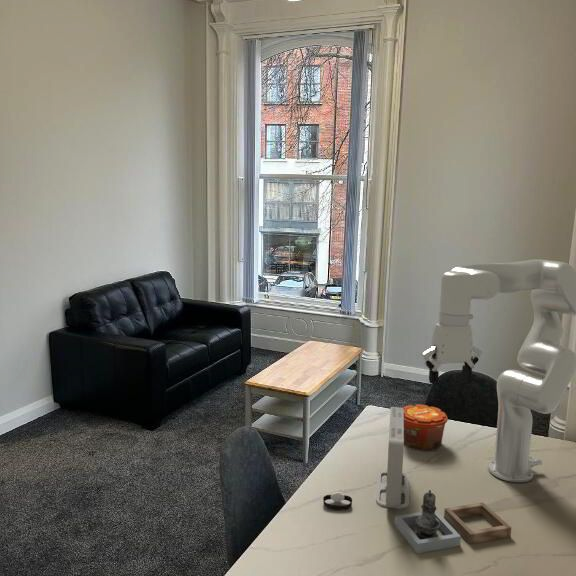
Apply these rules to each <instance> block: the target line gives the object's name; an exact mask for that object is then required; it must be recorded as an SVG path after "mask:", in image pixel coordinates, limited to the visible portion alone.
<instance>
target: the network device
mask: <svg viewBox="0 0 576 576" xmlns="http://www.w3.org/2000/svg"><path fill="white" fill-rule="evenodd" d="M389 412H390V413H389V414H390V415H389V431H388V432H389V433H388V446H387V447H388V452H387V468H386V469H387V470H382V471H379V472H378V473H377V480H376V491H375V503H376V504H377V505H379V506H381V507H384V508H390V509H398V510H399V509H401V510H402V509H406V508H407V507H409V504H410V503H409V502H410V500H409V497H410V495H409V476H408V475H407V474H405V472H403V468H404V466H403V464H404V448H405V447H404V446H405V444H404V416H403V407H396V406H390V409H389ZM383 475H386V483H383V482H382V476H383ZM403 479H404V485H402V484H403ZM381 492H386V493H385V494H386V495H385V501H381V500H380V498H381V497H380V496H381V495H380V494H381ZM402 494H403V495H404V503H402Z"/></svg>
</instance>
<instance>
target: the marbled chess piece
mask: <svg viewBox="0 0 576 576" xmlns="http://www.w3.org/2000/svg"><path fill="white" fill-rule="evenodd" d="M436 499H437V497H436V495H435V493H433V492H432V490H431V489H429V490H428V491H427V492H425V493H423V498H422V504H421V506H420V507H421V512H422V515H420V516H418V517H417V518H416V523H417V525H416V527H417V530H416V532H415V535H416V536H417V537H418V538H419V540H422V539H428V538H433V537H439V533H437V532H438V531H439V530H440V529H439V527H440V521H439V520H438V519H437V518H435V511H437V506H436Z"/></svg>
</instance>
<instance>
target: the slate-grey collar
mask: <svg viewBox="0 0 576 576" xmlns="http://www.w3.org/2000/svg"><path fill="white" fill-rule="evenodd" d="M420 515H422V511H420V512H414V513H412V512H411V513H407V514H402V515H401V514H399V515H395V516H394V526H395V527H396V529H397V530H398V531H399V533H400V534H401V535H402V536H403V538H404V539H405V540H406V542H408V544H409V545H410V546H411V549H413V551H414V552H415V553H416V554H422V553H429V552H433V551H439V550H443V549H444V550H445V549H451V548H455V547H460V546H461V543H462V542H461V541H462V539H461V538H462V535H461V534H460V533H459V532H458V531H457V530H456V529H455V528H454V527H453V526H452V525H451V524H450V523H449V522H448V521H447V520H446V519H445V518H444V516H442V515H441V514H440V513H439V512H438V511H437V510H436V511H435V518H437V519H438V520H439V521H440V527H439V529H438V530H440V531H441V533H443V534H444V535H438V537H433V538H428V539H422V540H421V539H419V538H418V537H417V535H416V533H415V532H414V531H413V530H412V529H411V527H412V526H417V523H416V518H417V517H418V516H420Z"/></svg>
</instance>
